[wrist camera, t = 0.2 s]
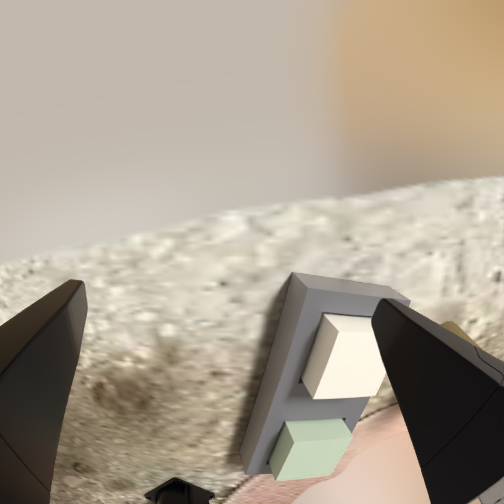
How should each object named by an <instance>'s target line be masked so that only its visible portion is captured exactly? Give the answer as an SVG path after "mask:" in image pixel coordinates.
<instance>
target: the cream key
mask: <svg viewBox="0 0 504 504" xmlns="http://www.w3.org/2000/svg"><path fill="white" fill-rule="evenodd" d="M371 318H372V316H361V315H349V314H338V313H328V312H322V315H321V318H320V321H319V324H318V327H317V330H316V333H315V336H314V339H313V342H312V345H311V348H310V351H309V354H308V357H307V360H306V363H305V366H304V368H303V371H302V374H301V379H302V381H303V383H304V384H305V386H306V388H307V390H308V391H309V393H310V395H311V397H312V398H313V399H336V398H353V397H367V396H375V395H376V393H377V391H378V389H379V387H380V385H381V383H382V381H383V378H384V376H385V374H386V370H385V368H384V365H383V362H382V359H381V356H380V352H379V349H378V346H377V342H376V339H375V335H374V332H373V329H372V326H371Z"/></svg>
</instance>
